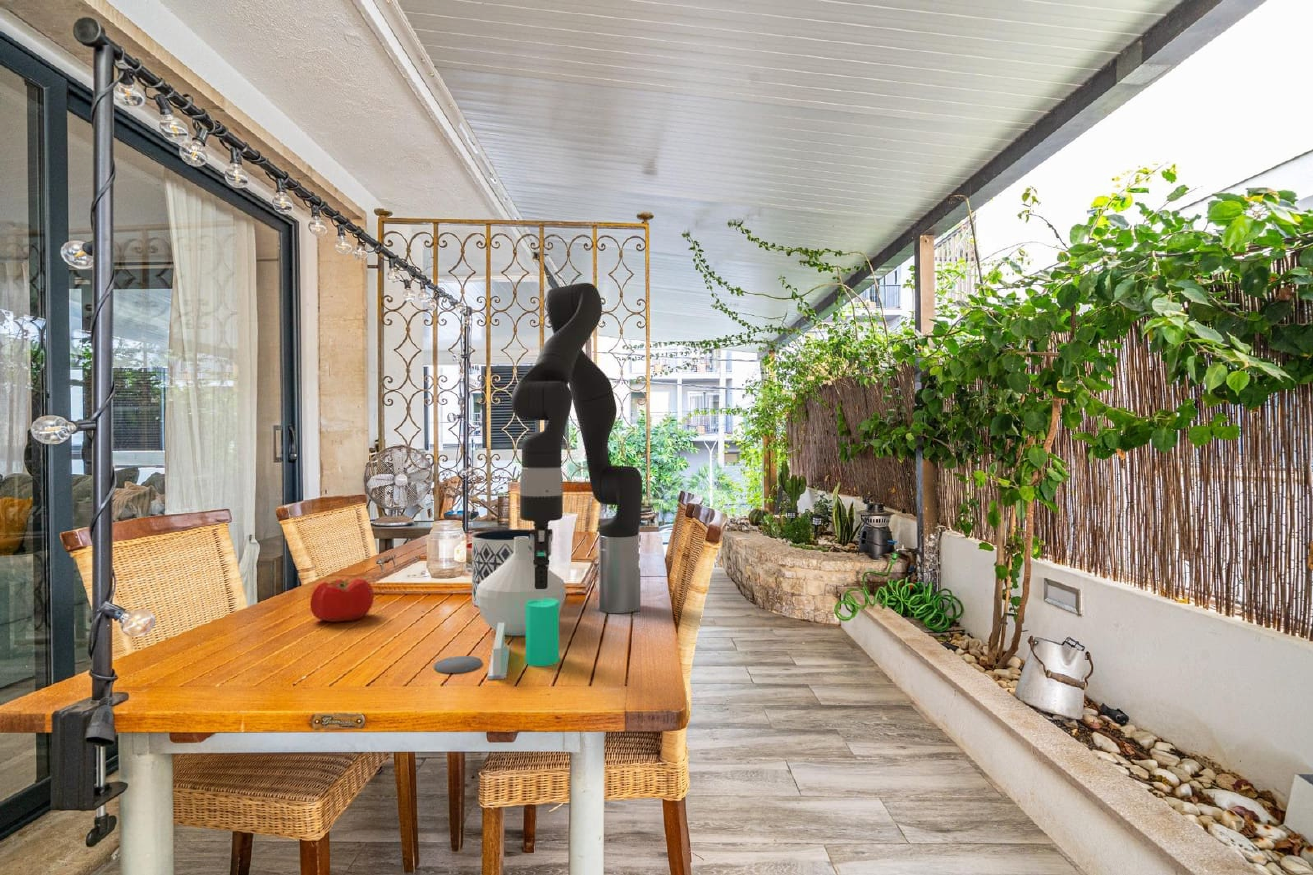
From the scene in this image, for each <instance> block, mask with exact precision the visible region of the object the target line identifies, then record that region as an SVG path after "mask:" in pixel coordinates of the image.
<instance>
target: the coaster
mask: <svg viewBox="0 0 1313 875" xmlns="http://www.w3.org/2000/svg"><path fill="white" fill-rule="evenodd" d="M482 663H483V660H482V659H481V658H480V657H477V656H471V655H470V656H469V655H458V656H451V657H450V656H449V657H446V658H443V659H440V660H438V661H436V662H435V663H434V664H433V670H434V671H435V670H436V671H435V672H437V671H438V673H440V672H442V673H441V674H447V673H453V674H464V673H468V672H471V671H475V670H477V669H479V668H480V667H481V666H483V664H482ZM453 674H452V675H453Z"/></svg>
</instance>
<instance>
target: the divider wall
mask: <svg viewBox="0 0 1313 875" xmlns="http://www.w3.org/2000/svg"><path fill="white" fill-rule="evenodd" d="M505 636H506V635H505V623H498V626H497V631H495V636H494V637H495V638H494V641H493V642H494V644H493V647H492V651H491V655H490V661H489V666H488V667H489V668H488V670H487V680H501V679H502V680H505V679H507V674H508V666H509V657H510V645H506V644H505V641H506V639H505ZM504 678H505V679H504Z"/></svg>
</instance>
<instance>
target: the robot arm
mask: <svg viewBox="0 0 1313 875" xmlns="http://www.w3.org/2000/svg"><path fill="white" fill-rule="evenodd" d="M545 308H546V314H547V317H548V320H549V324H550V327H551V330H552V333H553V334H552V336H550V337H549V338H548V339H547V341H546V342H545V343H544V344H543V345H542V347H541V349H540V352H539V354H538V356H537V358H536V362H534V363H535V364H534V365H533V366H532V367H531V368H530V369H529V370H528V371H527V372H526V373H525V374H524V375H523V376H522V377H521V378H520V379H519V380H518V382H517V383H516V385H515V386H514V389H513V391H512V394H511V400H510V401H511V403H510V404H511V408H512V411H513V413H514V414H515V416H516V417H517V418H518V419H520V420H523V421H548V423H547V425H546V427H545V429H544V430H542V431H540V432H536V433H531V434H528V435H526V436H524V437H523V439H522V441H521V471H520V472H521V474H520V480H519V519H521V521H527V522H533V527H534V529H529V530H530V541H531V555H532V556H534V560H533V565H534V567H535V589H546V588H547V587H548V565H550V559H549V558H550V557H551V555H552V541H553V529H552V528H549V522H550V521H554V522H555V521H558V520H561V519H562V518H563V514H564V513H563V509H564V508H563V502H564V501H563V500H564V497H563V496H564V493H563V492H564V488H563V485H564V481H563V472H562V450H563V448H562V447H563V439H564V435H565V430H566V426H567V422H568V419H569V416H570V413H571V408H572V404H573V408H574V412H575V414H576V418H577V422H578V425H579V429H580V433H581V438H582V443H583V446H584V452H585V457H586V464H587V465H586V466H587V470H588V477H589V482H590V483H589V484H590V488H591V491H592V494H593V497H594V499H595V500H596V501H597V503H600V504H602V505H605V506H606V505H607V506H616V512H615V515H613V516H612V517H611V518H609V519H605V520H602V521H601V522H600V523H599V525H598V534H599V535H598V548H599V549H598V566H599V567H598V572H599V574H598V580H599V581H598V593H599V594H598V597H599V599H598V605H599V606H598V607H599V610H600V611H601V612H604V613H608V614H627V613H633V612H638V611H641V610H642V609H641V604H642V603H641V602H642V601H641V600H642V599H641V598H642V597H641V596H642V595H641V594H642V593H641V582H642V581H641V580H642V579H641V568H640V559H639V558H640V553H639V552H640V548H639V546H640V543H639V541H640V539H639V538H640V535H639V534H640V531H639V530H640V525H641V520H642V506H643V505H642V502H643V479H642V476H641V473H640V470H639V469H638V468H637V467H635V466H632V465H612V463H611V459H610V454H609V445H608V444H609V439H610V435H611V434H612V430H613V428H614V425H615V421H616V417H617V412H618V411H617V402H616V399H615V395H614V390H613V386H612V383H611V381H610V379H609V377H608V376H607V375H606V374H605V373H604V371H603V370H602V369H601V368H600V367H598V365H597V364H595V362H593V361H592V359H591V358H589V357H590V356H588V355H587V354H586V353H585V351H584V350H583V348H584V346H586V343H587V341H588V340H589V338H591V336H592V334H593V332H594V331H595V329H596V328H597V326H598V325H599V322H600V320H601V318H602V313H603V302H602V299H601V295H600V292H599V290H598V288H597V287H596V286H595V285H594V284H593V283H590V282H579V283H575V284H569V285H565V286H560V287H554V288H551V289H549V290H548V291H547V292H546V295H545ZM568 385H569V386H568Z"/></svg>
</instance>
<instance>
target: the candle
mask: <svg viewBox="0 0 1313 875" xmlns="http://www.w3.org/2000/svg"><path fill="white" fill-rule="evenodd" d="M559 661H560V614H559V600H557V599H554V598H546V599H543V593H542V600H530V601H528V602H527V603H526V635H525V664H527V665H528V666H532V667H548V666H551V665H556V664H557V663H560V662H559Z"/></svg>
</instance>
